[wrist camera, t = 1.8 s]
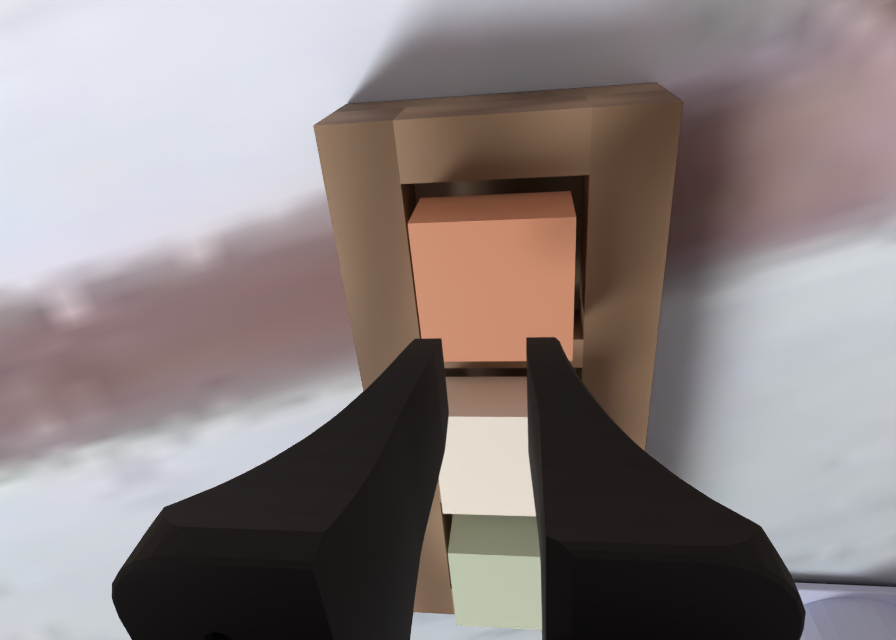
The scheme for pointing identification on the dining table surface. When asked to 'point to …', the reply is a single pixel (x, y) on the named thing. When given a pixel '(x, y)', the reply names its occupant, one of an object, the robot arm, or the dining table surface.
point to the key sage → (496, 571)
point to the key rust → (494, 272)
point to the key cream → (487, 448)
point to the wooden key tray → (509, 172)
